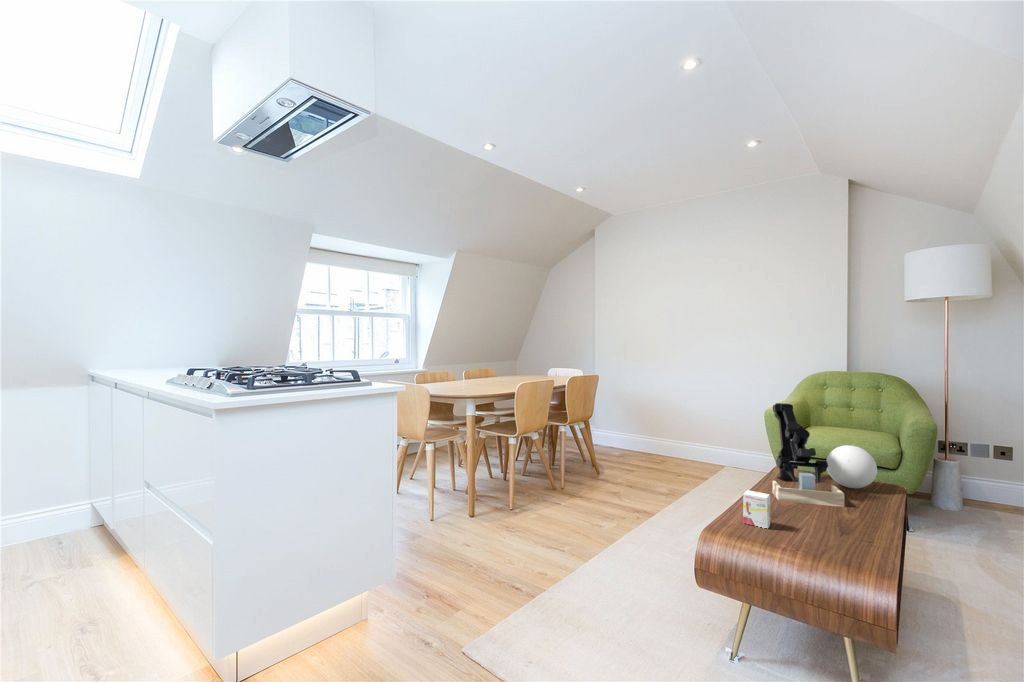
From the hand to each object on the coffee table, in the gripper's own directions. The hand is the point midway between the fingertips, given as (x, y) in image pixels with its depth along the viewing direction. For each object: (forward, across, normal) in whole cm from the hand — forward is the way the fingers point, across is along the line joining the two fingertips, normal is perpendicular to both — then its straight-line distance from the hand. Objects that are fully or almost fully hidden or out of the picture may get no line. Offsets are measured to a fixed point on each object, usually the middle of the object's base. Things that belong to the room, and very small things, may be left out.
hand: (806, 481), depth 204 cm
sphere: (-14, +26, +26) cm, 39 cm away
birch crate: (+6, 0, +6) cm, 8 cm away
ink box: (+33, -27, -20) cm, 47 cm away
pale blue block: (+6, 0, +5) cm, 8 cm away
